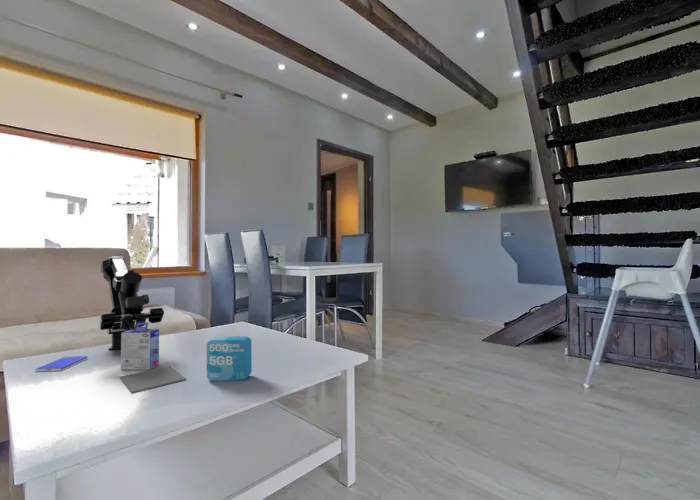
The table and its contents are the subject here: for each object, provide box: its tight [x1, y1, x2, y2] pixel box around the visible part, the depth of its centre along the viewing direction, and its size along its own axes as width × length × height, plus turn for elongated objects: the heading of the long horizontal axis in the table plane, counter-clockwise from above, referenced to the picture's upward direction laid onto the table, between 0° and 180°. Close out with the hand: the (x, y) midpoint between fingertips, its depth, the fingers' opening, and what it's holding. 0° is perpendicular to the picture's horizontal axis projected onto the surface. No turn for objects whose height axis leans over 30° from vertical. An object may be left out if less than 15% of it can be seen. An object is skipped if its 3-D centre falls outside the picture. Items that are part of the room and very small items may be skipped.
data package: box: [206, 335, 253, 382], centre depth 105 cm, size 12×4×12 cm, turn 90°
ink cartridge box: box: [120, 322, 160, 371], centre depth 115 cm, size 10×6×14 cm, turn 89°
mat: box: [119, 365, 187, 394], centre depth 105 cm, size 16×14×1 cm
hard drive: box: [34, 355, 89, 373], centre depth 119 cm, size 2×8×12 cm
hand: (137, 338), depth 119 cm, fingers closed
